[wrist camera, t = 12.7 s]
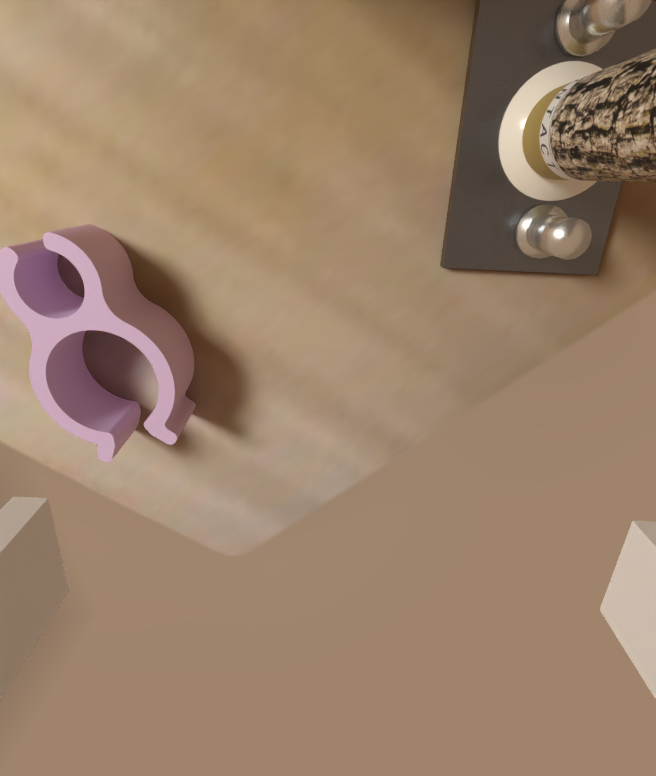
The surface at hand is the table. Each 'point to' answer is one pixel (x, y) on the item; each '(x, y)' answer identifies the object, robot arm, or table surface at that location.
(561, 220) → the collar post
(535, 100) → the white dome cap
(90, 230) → the clip
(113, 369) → the table surface
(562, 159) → the paper tube
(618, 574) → the robot arm
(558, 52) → the plate
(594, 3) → the collar post
